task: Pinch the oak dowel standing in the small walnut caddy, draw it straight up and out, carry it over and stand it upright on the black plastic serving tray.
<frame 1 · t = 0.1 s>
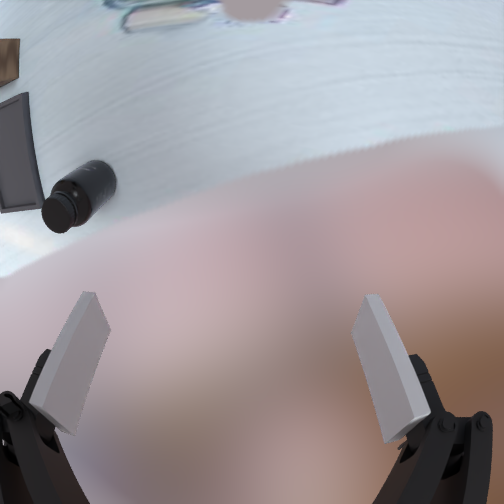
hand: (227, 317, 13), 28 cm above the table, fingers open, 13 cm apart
caddy: (5, 65, 23), on the table
tray: (12, 155, 33), on the table
supplement bottle: (98, 180, 37), on the table
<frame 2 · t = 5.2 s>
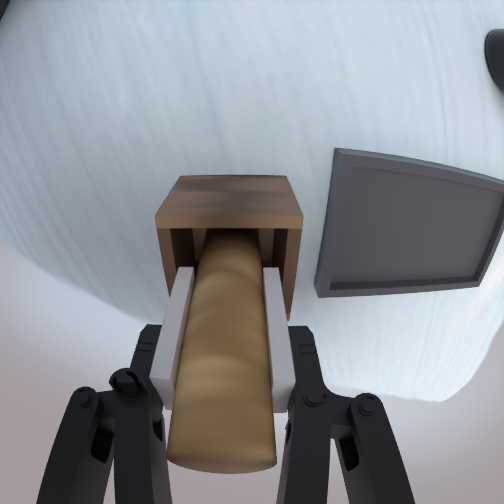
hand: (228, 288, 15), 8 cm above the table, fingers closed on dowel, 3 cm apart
caddy: (233, 222, 21), on the table
tray: (426, 227, 22), on the table
dowel: (233, 226, 21), point 1 cm above the table, touching caddy, gripper
supplement bottle: (503, 62, 12), on the table
when the fingers open (8 cm above the table, at t = 12.7 s): dowel drops 1 cm, resting on tray.
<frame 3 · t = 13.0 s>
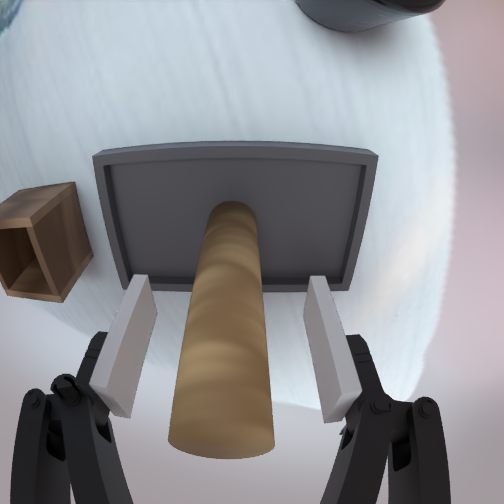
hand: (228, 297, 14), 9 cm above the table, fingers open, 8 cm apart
caddy: (53, 222, 21), on the table
tray: (233, 217, 22), on the table
dowel: (232, 222, 21), point 1 cm above the table, touching tray
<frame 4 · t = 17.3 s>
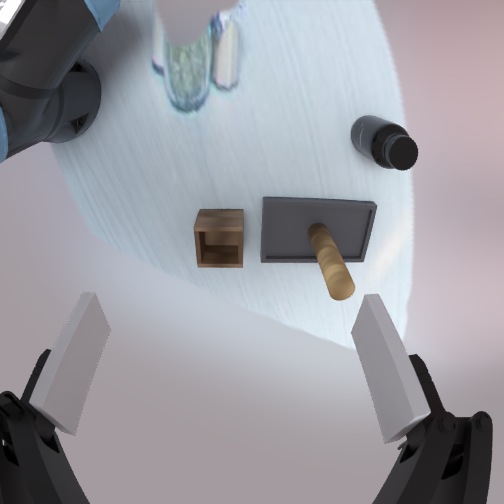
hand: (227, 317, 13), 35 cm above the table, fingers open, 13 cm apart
caddy: (221, 228, 50), on the table
tray: (317, 229, 50), on the table
dowel: (317, 231, 50), point 1 cm above the table, touching tray
supplement bottle: (368, 134, 41), on the table
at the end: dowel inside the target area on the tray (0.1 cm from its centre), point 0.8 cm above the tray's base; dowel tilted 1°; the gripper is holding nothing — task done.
